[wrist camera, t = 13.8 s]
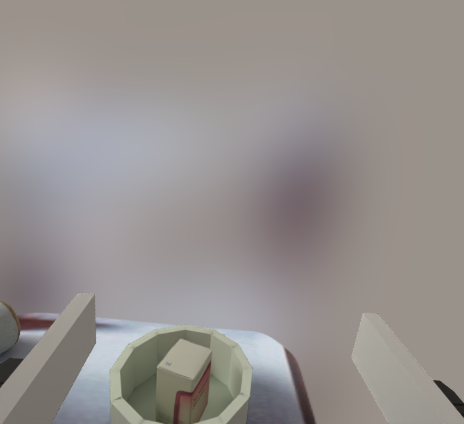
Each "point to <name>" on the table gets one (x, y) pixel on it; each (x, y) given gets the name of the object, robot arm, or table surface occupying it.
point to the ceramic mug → (8, 327)
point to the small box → (183, 383)
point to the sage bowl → (145, 377)
